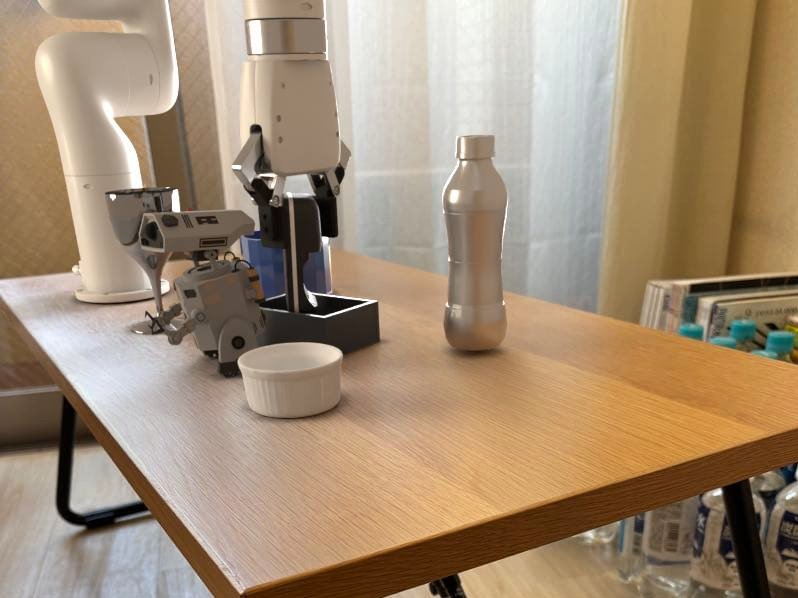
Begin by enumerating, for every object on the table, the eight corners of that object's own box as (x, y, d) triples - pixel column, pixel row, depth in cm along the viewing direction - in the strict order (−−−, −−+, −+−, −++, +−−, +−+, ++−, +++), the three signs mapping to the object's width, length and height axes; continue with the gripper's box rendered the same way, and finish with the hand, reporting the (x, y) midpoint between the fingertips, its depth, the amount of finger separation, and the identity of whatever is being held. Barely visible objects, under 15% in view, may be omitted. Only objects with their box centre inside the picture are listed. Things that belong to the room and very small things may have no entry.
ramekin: (356, 413, 75) (353, 363, 73) (250, 427, 73) (244, 375, 71) (333, 384, 82) (330, 337, 80) (237, 396, 80) (231, 348, 78)
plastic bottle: (513, 342, 94) (517, 133, 85) (497, 359, 88) (500, 137, 79) (454, 339, 96) (452, 134, 87) (435, 356, 90) (431, 138, 81)
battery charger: (325, 315, 92) (321, 198, 87) (288, 317, 92) (281, 198, 86) (320, 300, 98) (316, 189, 93) (285, 301, 98) (279, 190, 92)
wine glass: (210, 320, 107) (192, 187, 101) (168, 336, 101) (146, 195, 94) (157, 316, 111) (136, 186, 104) (113, 331, 104) (88, 194, 97)
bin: (327, 360, 90) (324, 317, 88) (245, 346, 96) (240, 305, 94) (380, 341, 96) (378, 300, 94) (299, 328, 102) (296, 290, 100)
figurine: (147, 364, 91) (121, 208, 84) (257, 349, 95) (241, 199, 88) (160, 388, 84) (132, 219, 77) (280, 370, 87) (263, 208, 80)
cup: (228, 300, 118) (220, 236, 114) (287, 284, 126) (282, 225, 123) (292, 308, 112) (286, 242, 108) (350, 291, 120) (346, 229, 116)
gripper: (317, 45, 92) (328, 227, 100) (188, 44, 79) (212, 252, 88) (375, 43, 88) (381, 233, 96) (249, 41, 75) (268, 259, 84)
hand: (300, 240), depth 92 cm, fingers closed on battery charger, 6 cm apart
